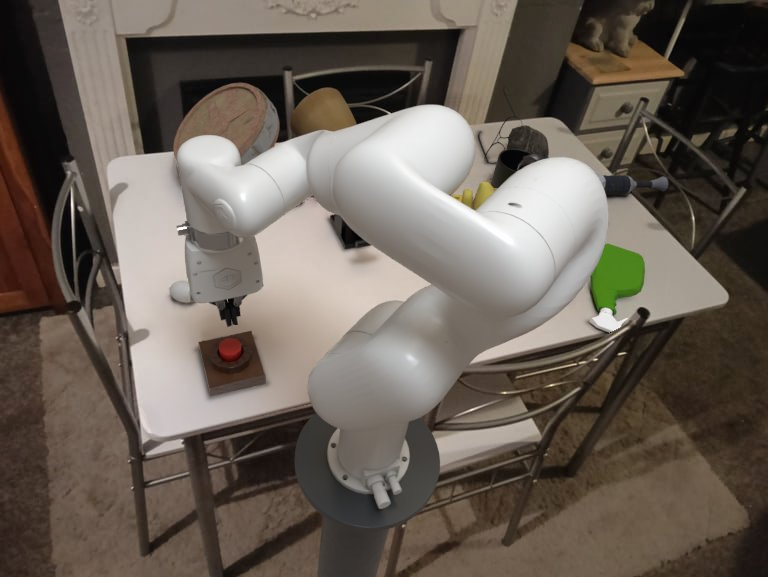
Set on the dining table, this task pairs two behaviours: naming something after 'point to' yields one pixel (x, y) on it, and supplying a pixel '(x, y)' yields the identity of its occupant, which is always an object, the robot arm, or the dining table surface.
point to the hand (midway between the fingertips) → (230, 319)
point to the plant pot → (321, 113)
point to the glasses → (500, 130)
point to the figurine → (478, 195)
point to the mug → (507, 165)
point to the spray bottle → (615, 283)
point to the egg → (180, 291)
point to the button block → (231, 365)
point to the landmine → (233, 120)
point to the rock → (529, 141)
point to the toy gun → (629, 184)
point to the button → (230, 349)
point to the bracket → (344, 232)
